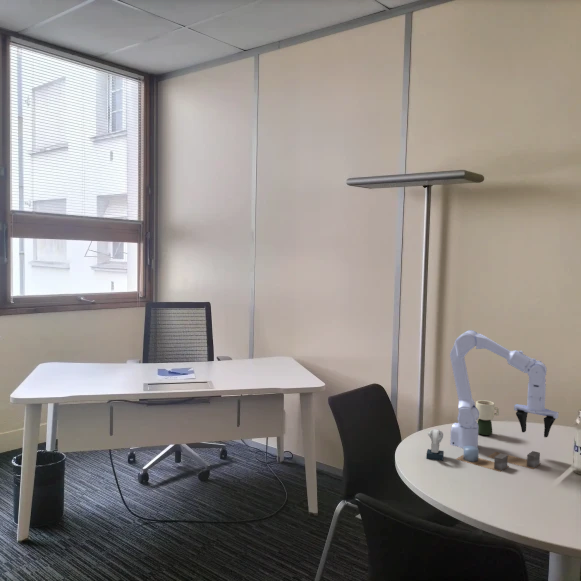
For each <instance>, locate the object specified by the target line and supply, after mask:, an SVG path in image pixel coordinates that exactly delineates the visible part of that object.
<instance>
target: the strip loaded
mask: <svg viewBox="0 0 581 581" xmlns="http://www.w3.org/2000/svg"><path fill="white" fill-rule="evenodd" d="M499 453H500V454H499V455H497V456H496V457H495V458H494V460H493V461H492V460H488V459H485V458H481V457H478V461H477V462H468V461H465V460H464V459H463V454H462V455H460V456H458V457H457V458H455V461H460V462H464V463H466V464H471V465H474V466H478V467H481V468H485V469H489V470H492V471H495V472H499V473H502V472H503V471H504V470H505V469H507V468H508V467H509V466H510V465H508V455H509V454H506V453H502V452H499ZM505 454H506V455H505Z"/></svg>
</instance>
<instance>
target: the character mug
mask: <svg viewBox="0 0 581 581" xmlns="http://www.w3.org/2000/svg"><path fill="white" fill-rule="evenodd" d="M475 406H476V408H477V409H478V411H479V418H478V419H477V424H478V435H483V436H490V435H492V434H493V425H492V420H494V417H495V416H496V417H497V416H499V415H500V408H499V407H496V406H495V402H493V401H490V400H484V399H482V400H477V401H475ZM495 411H496V413H495Z"/></svg>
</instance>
